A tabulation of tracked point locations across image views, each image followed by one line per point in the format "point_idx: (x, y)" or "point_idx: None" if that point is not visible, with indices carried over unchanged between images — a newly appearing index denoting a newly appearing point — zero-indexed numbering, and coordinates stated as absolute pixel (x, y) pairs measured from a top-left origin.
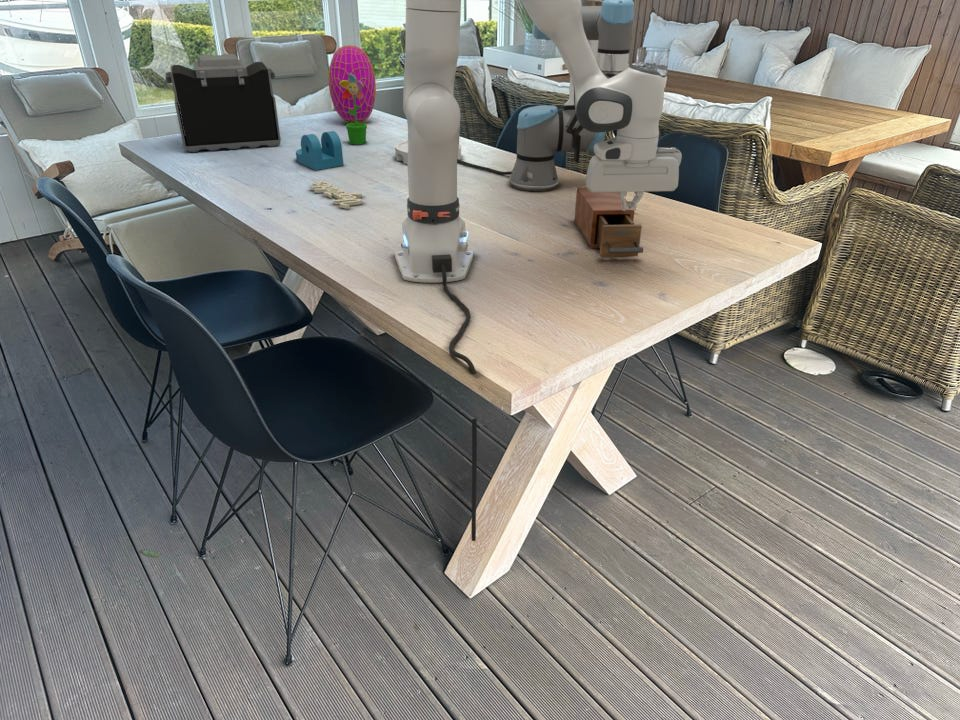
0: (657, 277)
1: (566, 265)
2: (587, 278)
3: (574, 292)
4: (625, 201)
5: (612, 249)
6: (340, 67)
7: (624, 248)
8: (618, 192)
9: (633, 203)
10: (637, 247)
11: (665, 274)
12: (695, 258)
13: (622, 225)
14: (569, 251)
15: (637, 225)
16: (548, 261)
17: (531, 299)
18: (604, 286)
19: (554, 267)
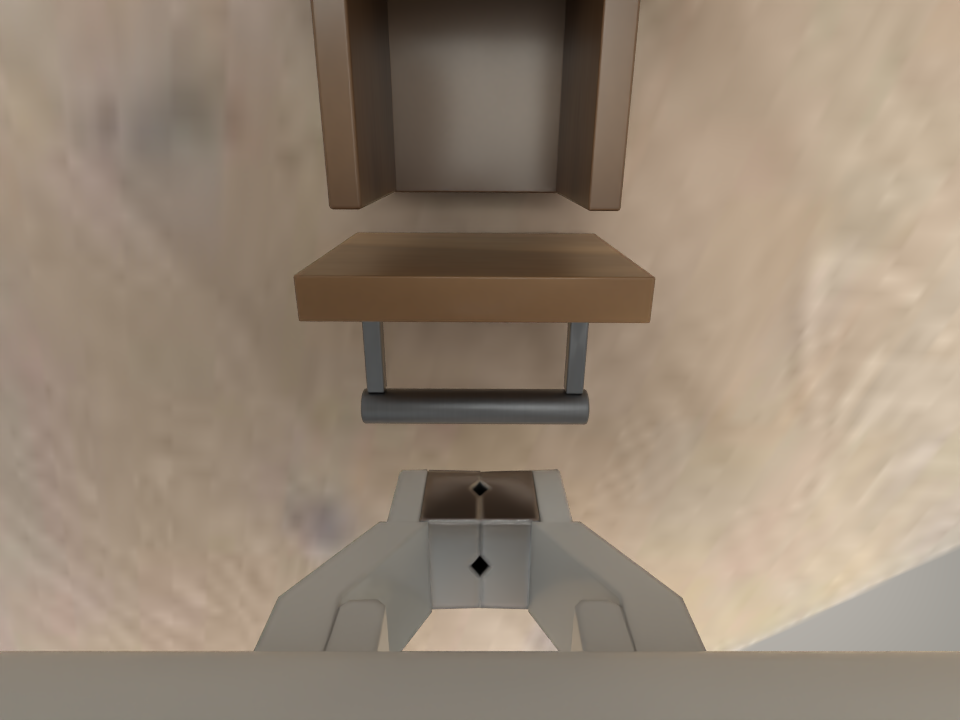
0: (609, 474)
1: (163, 306)
2: (268, 466)
3: (200, 586)
4: (403, 636)
5: (381, 422)
6: None
7: (462, 420)
8: (270, 635)
9: (524, 600)
10: (551, 415)
11: (664, 445)
12: (949, 248)
13: (476, 300)
14: (182, 71)
15: (614, 308)
16: (54, 240)
17: (26, 629)
18: (336, 544)
19: (96, 329)
